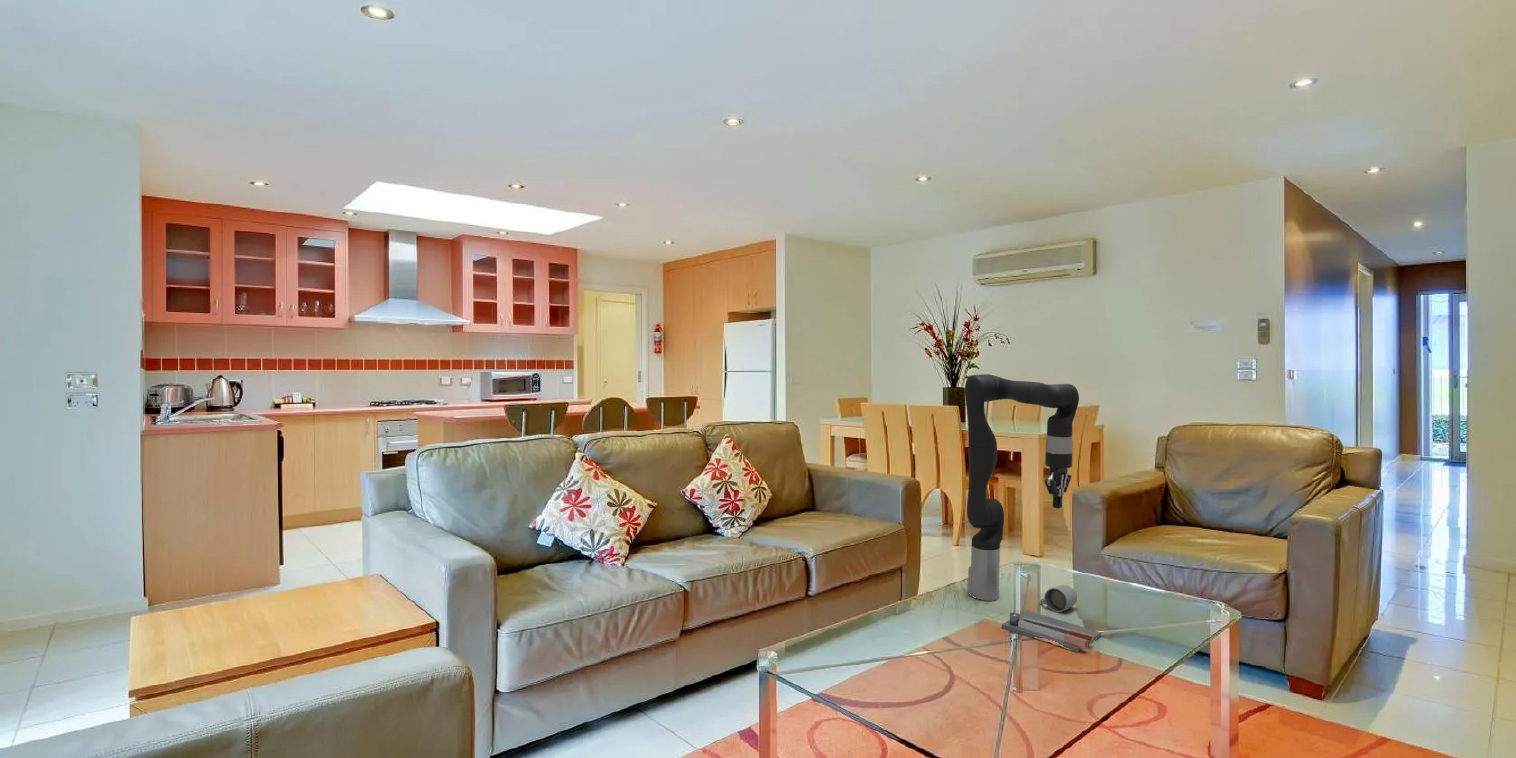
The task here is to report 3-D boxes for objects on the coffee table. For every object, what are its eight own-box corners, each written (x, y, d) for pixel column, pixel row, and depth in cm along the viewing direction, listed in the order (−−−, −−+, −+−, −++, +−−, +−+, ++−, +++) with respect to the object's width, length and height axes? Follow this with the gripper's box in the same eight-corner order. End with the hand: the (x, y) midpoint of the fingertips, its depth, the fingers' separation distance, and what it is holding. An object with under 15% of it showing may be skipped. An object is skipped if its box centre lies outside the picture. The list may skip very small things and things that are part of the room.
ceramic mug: (1078, 608, 240) (1078, 585, 240) (1066, 615, 235) (1066, 591, 234) (1047, 600, 248) (1047, 577, 247) (1035, 606, 243) (1035, 583, 242)
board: (1001, 628, 225) (1001, 624, 225) (1027, 614, 235) (1027, 610, 235) (1077, 652, 208) (1077, 648, 208) (1101, 636, 219) (1101, 632, 219)
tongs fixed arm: (1006, 624, 224) (1007, 614, 224) (1012, 621, 227) (1012, 611, 227) (1084, 649, 207) (1085, 638, 207) (1090, 645, 209) (1090, 635, 209)
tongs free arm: (1021, 625, 223) (1022, 618, 223) (1024, 623, 225) (1024, 616, 225) (1091, 643, 210) (1091, 636, 210) (1093, 641, 212) (1093, 634, 212)
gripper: (1056, 446, 228) (1055, 502, 230) (1036, 451, 219) (1034, 509, 221) (1081, 449, 223) (1079, 506, 224) (1061, 454, 214) (1059, 513, 215)
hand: (1057, 507), depth 222 cm, fingers closed
